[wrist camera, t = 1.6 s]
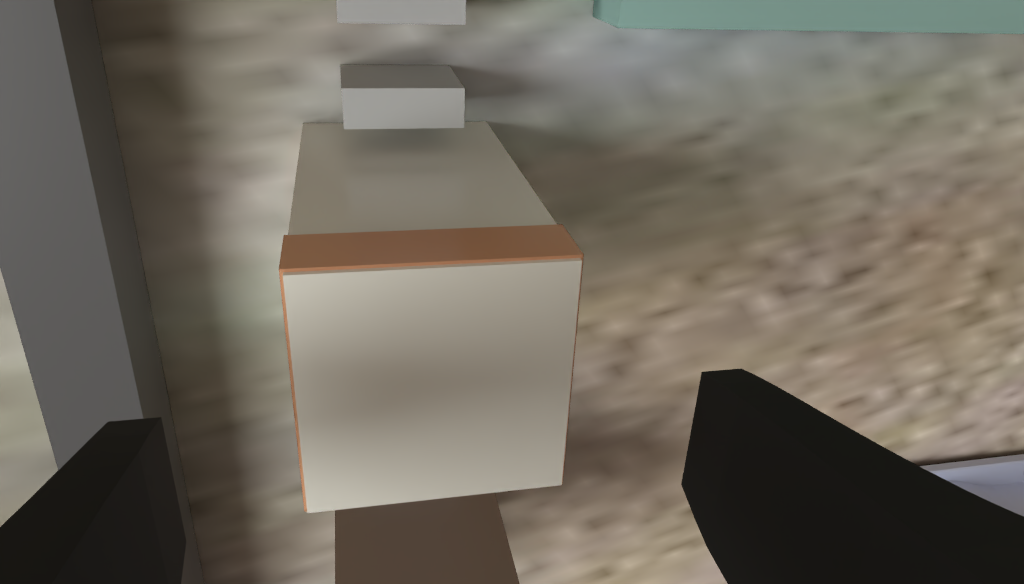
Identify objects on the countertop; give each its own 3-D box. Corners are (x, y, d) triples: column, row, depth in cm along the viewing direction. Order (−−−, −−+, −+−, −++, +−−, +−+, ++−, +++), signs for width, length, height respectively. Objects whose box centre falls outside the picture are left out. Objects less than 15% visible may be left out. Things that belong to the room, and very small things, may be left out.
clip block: (451, -476, 13) (473, -546, 11) (446, 574, 24) (457, 637, 22) (-165, -566, 11) (-277, -671, 9) (137, 615, 23) (117, 687, 20)
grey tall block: (488, 119, 18) (585, 257, 11) (483, 282, 20) (564, 486, 13) (300, 121, 17) (278, 271, 10) (314, 291, 19) (304, 516, 12)
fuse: (473, 405, 22) (539, 645, 15) (471, 510, 23) (529, 768, 17) (332, 418, 21) (332, 676, 14) (341, 525, 23) (344, 802, 16)
